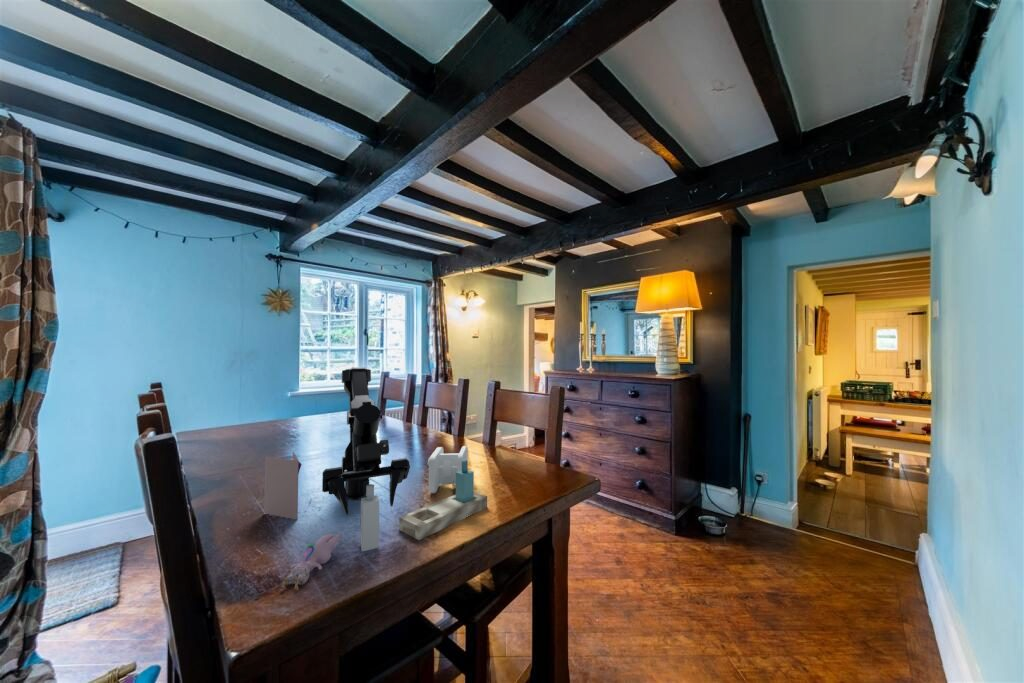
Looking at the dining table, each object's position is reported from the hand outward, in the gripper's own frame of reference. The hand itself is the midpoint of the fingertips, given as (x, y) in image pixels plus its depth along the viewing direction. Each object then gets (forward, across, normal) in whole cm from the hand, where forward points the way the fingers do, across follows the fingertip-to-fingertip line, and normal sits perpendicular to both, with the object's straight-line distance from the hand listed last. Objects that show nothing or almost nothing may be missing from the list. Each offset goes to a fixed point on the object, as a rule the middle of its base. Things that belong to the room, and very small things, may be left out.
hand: (370, 509), depth 79 cm
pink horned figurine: (+8, -10, +4) cm, 14 cm away
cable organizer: (-13, +26, +24) cm, 38 cm away
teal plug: (0, +25, +11) cm, 27 cm away
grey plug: (+5, 0, +6) cm, 8 cm away
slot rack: (+2, +19, +9) cm, 21 cm away
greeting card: (-14, -18, +25) cm, 34 cm away
